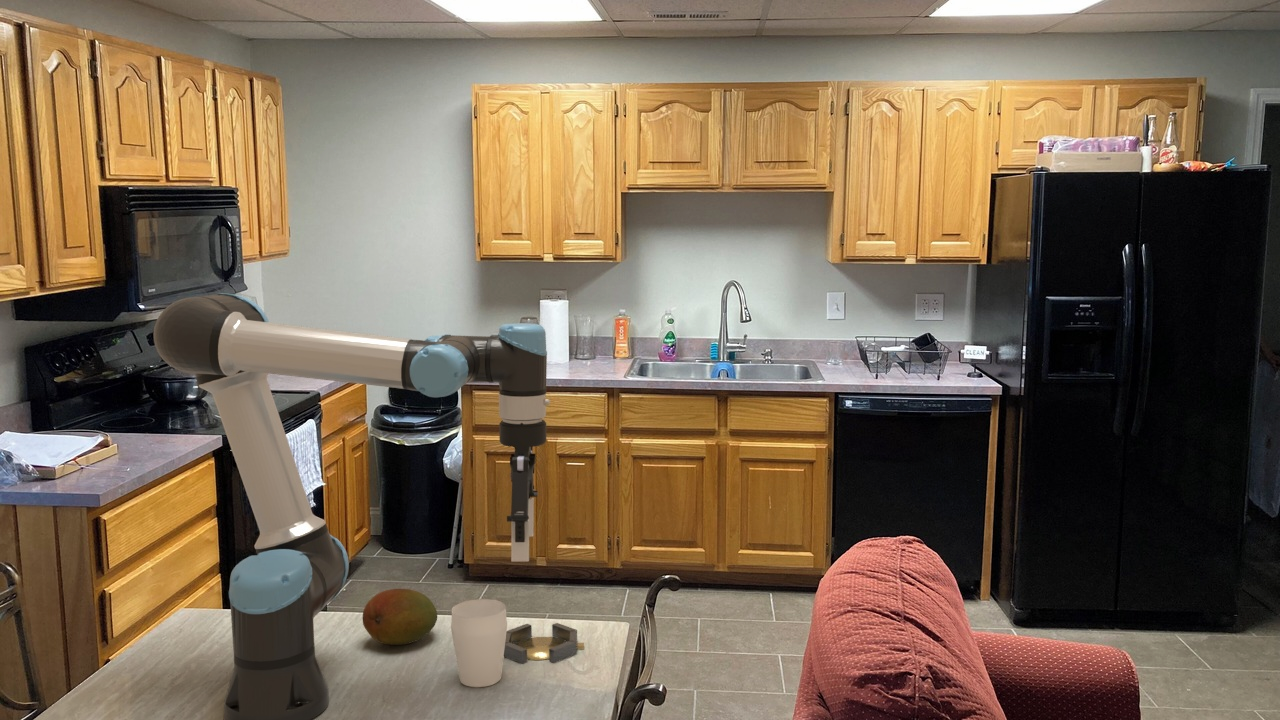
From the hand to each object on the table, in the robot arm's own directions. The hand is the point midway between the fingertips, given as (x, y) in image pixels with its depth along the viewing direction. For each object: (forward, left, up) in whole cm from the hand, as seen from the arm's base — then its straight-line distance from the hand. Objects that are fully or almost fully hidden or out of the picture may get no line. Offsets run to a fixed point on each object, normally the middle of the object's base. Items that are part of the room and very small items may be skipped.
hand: (523, 548), depth 165 cm
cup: (-7, -2, -22) cm, 23 cm away
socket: (+2, +10, -21) cm, 24 cm away
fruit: (-23, +15, -22) cm, 35 cm away
